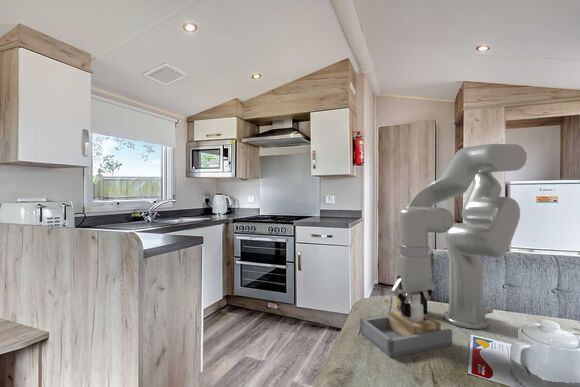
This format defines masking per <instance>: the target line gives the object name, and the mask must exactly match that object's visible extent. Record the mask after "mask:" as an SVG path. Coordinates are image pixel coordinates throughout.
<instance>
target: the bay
mask: <svg viewBox="0 0 580 387" xmlns="http://www.w3.org/2000/svg"><path fill="white" fill-rule="evenodd" d="M359 327H360V329H359V330H360V332H359V333H360V334H361V335H362V336H364V338H366V339H367V340H368V341H369V342H371V343H372V344H373V345H374V346H376V347H377V349H379V350H381V351H382V353H383V354H385V355H386V356H388V357H389V358H393V357H399V356H404V355H409V354H413V353H418V352H419V353H420V352H424V351H429V350H434V349H439V348H444V347H449V346H453V330H452V329H450V328H444V329H441V330H438V331H432V332H426V333H420V334H415V335H409V336H403V337H402V336H401V335H399V334H398V333H396V332H395V331H394V330H392V329H391V328H389V314H388V315H383V316H375V317H374V316H373V317H369V318H368V317H367V318H361V319H360V326H359Z"/></svg>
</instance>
